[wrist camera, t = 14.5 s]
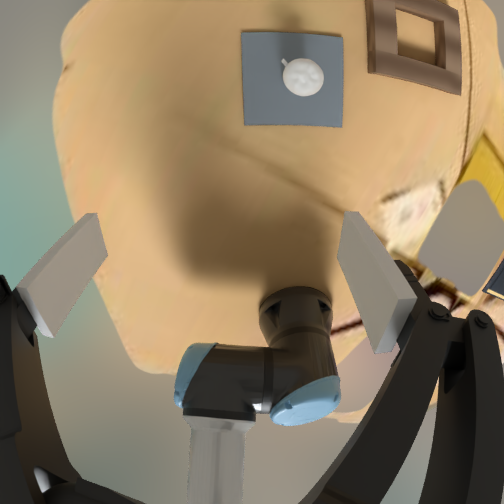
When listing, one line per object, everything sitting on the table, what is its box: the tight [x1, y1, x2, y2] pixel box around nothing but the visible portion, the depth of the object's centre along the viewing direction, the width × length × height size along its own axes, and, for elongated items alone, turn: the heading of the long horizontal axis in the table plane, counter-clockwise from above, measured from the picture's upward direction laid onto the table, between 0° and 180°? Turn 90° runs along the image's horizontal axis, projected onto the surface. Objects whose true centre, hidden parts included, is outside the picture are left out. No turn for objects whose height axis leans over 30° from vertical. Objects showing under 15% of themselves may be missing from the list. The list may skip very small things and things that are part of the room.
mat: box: [241, 32, 343, 128], centre depth 33 cm, size 14×14×1 cm
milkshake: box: [281, 58, 324, 96], centre depth 28 cm, size 4×5×10 cm
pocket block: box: [365, 0, 462, 95], centre depth 26 cm, size 16×16×3 cm
